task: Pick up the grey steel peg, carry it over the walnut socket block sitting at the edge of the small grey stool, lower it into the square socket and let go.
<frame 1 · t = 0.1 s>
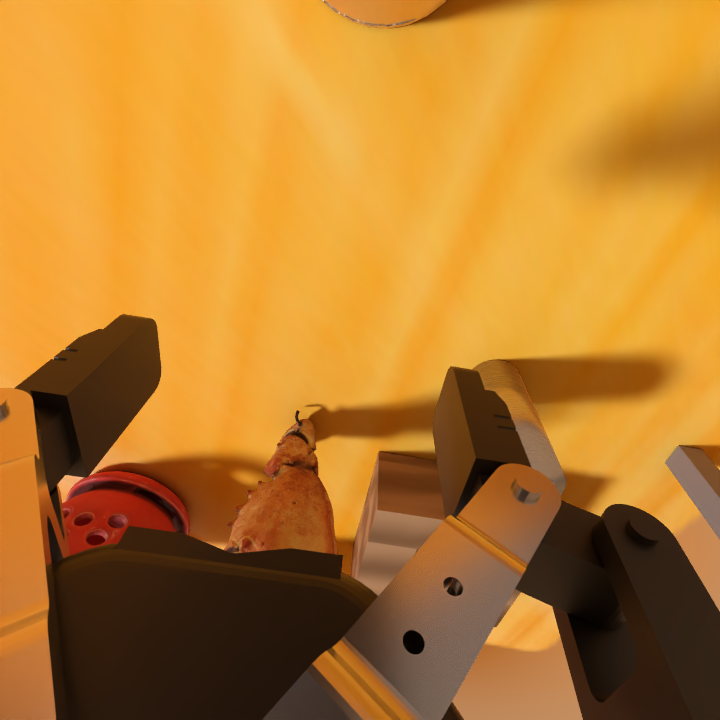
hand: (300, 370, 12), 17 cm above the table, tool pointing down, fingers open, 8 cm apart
peg: (492, 381, 33), on the table
plant pot: (137, 499, 43), on the table
crab claw: (312, 421, 36), on the table
small grey stool: (586, 516, 41), on the table
socket block: (436, 514, 42), on the table
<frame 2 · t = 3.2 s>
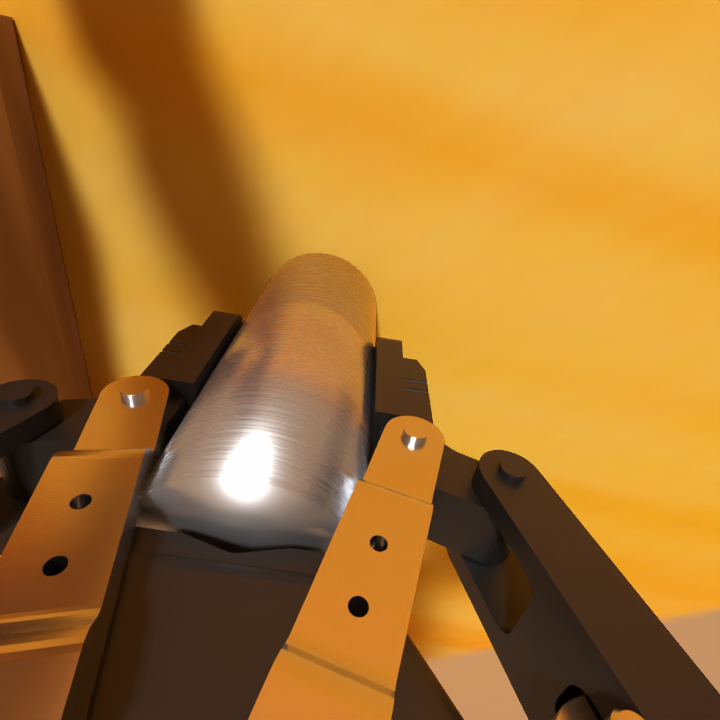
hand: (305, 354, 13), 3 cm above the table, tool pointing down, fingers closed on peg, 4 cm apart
peg: (320, 308, 16), on the table, touching gripper
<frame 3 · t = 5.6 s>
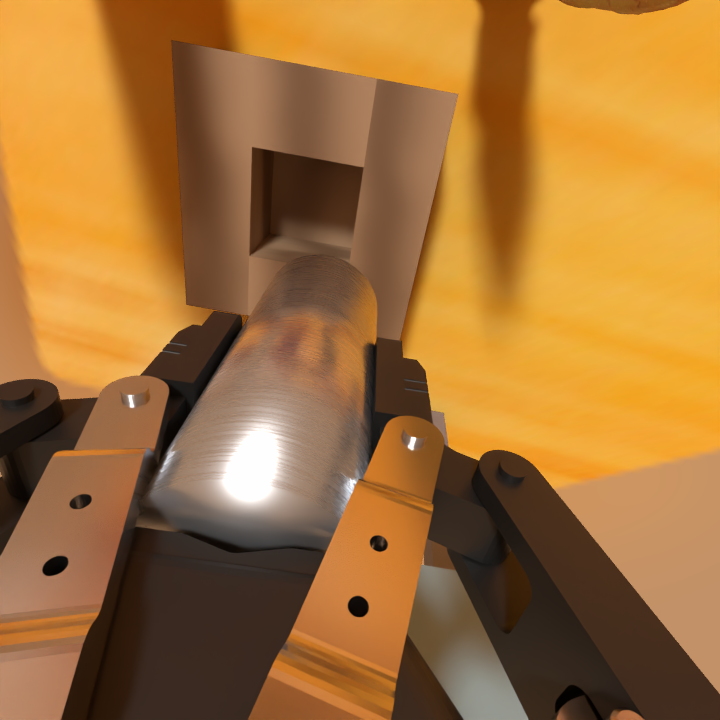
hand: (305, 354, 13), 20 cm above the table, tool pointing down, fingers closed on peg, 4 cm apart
peg: (321, 309, 16), point 17 cm above the table, touching gripper
small grey stool: (336, 365, 37), on the table
socket block: (319, 193, 30), on the table
when the fingers open (7 cm above the table, at t = 8.4 s): peg drops 3 cm, resting on socket block.
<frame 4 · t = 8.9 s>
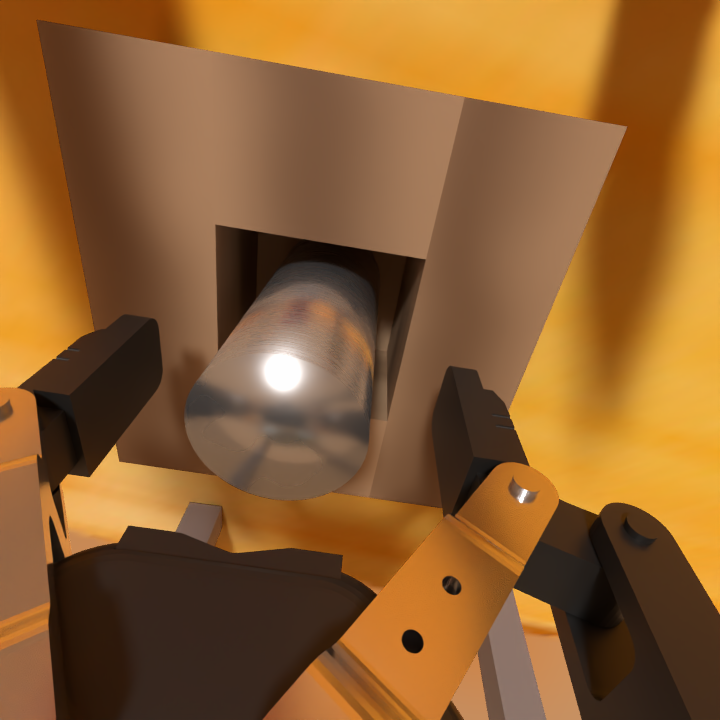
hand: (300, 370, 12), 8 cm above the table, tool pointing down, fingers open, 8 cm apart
peg: (331, 279, 18), point 1 cm above the table, touching socket block
small grey stool: (354, 492, 26), on the table
socket block: (331, 270, 19), on the table
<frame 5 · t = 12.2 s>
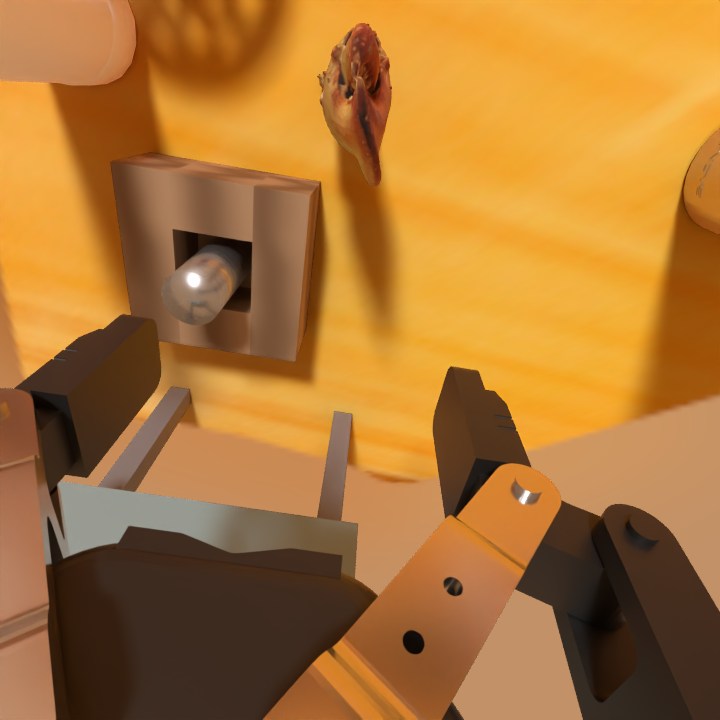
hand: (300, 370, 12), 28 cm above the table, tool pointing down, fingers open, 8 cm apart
peg: (233, 253, 38), point 1 cm above the table, touching socket block
crab claw: (355, 102, 33), on the table
small grey stool: (263, 377, 46), on the table
bottle: (84, 21, 31), on the table
socket block: (235, 250, 39), on the table
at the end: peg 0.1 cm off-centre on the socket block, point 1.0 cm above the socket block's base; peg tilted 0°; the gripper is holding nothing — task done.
